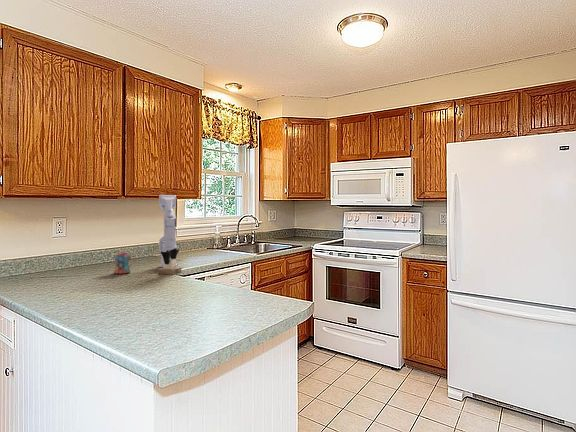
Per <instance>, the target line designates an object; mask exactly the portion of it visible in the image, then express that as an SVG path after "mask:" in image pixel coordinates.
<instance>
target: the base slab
mask: <svg viewBox="0 0 576 432" xmlns="http://www.w3.org/2000/svg"><path fill="white" fill-rule="evenodd" d="M181 272H182V267H181V266H176V268H174V269H163V267H160V268H158V272H157V274H158V275H171V276H173V275H176V274H178V273H181Z"/></svg>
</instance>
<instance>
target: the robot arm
mask: <svg viewBox="0 0 576 432" xmlns="http://www.w3.org/2000/svg"><path fill="white" fill-rule="evenodd" d="M158 204H159V205H158V207H159V209H160V210H162V212H163V236H162V237H160V238H159V240H158V241H159V242H158V251H159V252H160V254H161V255H160V256H161V257H160V259H161V260H160V261H161V262H160V263H161V265H158V267H159V268H163V260H164V263H165V264H169V261H170V259H176V260H177V256H178V253H179V251H180V249H178V245H177V241H176V228H177V226H178V225H177V222H178V221H177V217H176V215H175V211H174V210H175V209H176V205H177V195H176V194H173V195H172V194H159V196H158ZM176 267H178V264H177V263H176Z"/></svg>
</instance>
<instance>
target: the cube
mask: <svg viewBox="0 0 576 432" xmlns="http://www.w3.org/2000/svg"><path fill="white" fill-rule="evenodd" d="M176 264H177V258H176V259H170V261H169V264H165V263H164V260H163V267H162V268H163V269H174V268H176V267H177V266H176Z"/></svg>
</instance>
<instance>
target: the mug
mask: <svg viewBox="0 0 576 432" xmlns="http://www.w3.org/2000/svg"><path fill="white" fill-rule="evenodd" d="M112 256H113V258H114V261H115V269H114V270H113V273H114V274H118V275H125V274H129V273H131V266H133V265H134V264H135V263H136V262H137V256H135V255H132V253H130V252H118V253H113V254H112ZM132 257H134V258H135V259H134V261H133V263H131V264H130V260H131V259H132Z"/></svg>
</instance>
